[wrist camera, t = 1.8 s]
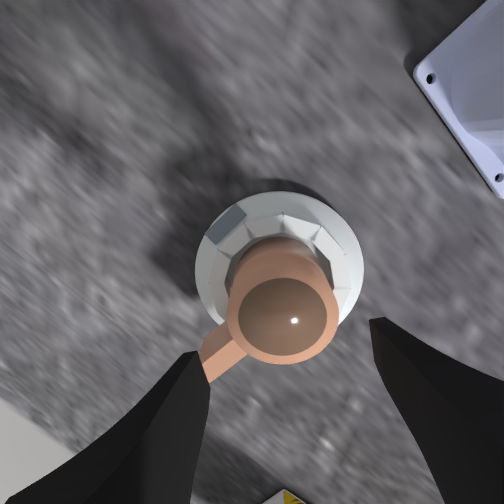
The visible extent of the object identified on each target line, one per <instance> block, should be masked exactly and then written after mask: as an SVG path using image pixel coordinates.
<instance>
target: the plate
mask: <svg viewBox="0 0 504 504" xmlns="http://www.w3.org/2000/svg"><path fill="white" fill-rule="evenodd" d="M204 234H205V235H204V237H203V239H202V241H201V243H200V246H199V249H198V252H197V257H196V262H195V279H196V286H197V290H198V294H199V296H200V298H201V301H202V303H203V305H204V307H205V308H206V310H207V312H208V313H209V314H210V316H211V317H212V318H213V319H214V320H215V321H216V322H217V323H218V324H219V325H221V324H222V323H223V322H224V321H226V320H227V318H226V314H227V306H228V302H229V298H230V294H231V289H232V285H233V281H234V277H235V272H236V268H237V265H238V262H239V260H240V258H241V256H242V255H243V253H244V252H245V251H246V250H247V249H248V248H249V247H250V246H251V245H253V244H254V243H256V242H258V241H260V240H262V239H265V238H269V237H277V236H282V237H289V238H293V239H295V240H298V241H300V242H302V243H303V244H305V245H306V246H307V247H309V248H310V249H311V250H312V252H313V253H314V254H315V256H316V257H317V259H318V261H319V263H320V266H321V268H322V270H323V272H324V274H325V276H326V278H327V281H328V283H329V285H330V287H331V289H332V291H333V293H334V296H335V298H336V300H337V304H338V308H339V322H338V325H339V324H340V323H341V322H342V321H343V320H344V319H345V318H346V316H347V315H348V314H349V312H350V311H351V310H352V308H353V306H354V304H355V302H356V301H357V298H358V296H359V293H360V291H361V286H362V282H363V273H364V267H363V257H362V252H361V249H360V246H359V243H358V240H357V238H356V237H355V235H354V233H353V231H352V229H351V228H350V227H349V225H348V224H347V223H346V221H344V220H343V219H342V218H341V217H340V216H339V215H338V214H337V213H336V212H335V211H334V210H333V209H331V208H330V207H329V206H327V205H326V204H324V203H323V202H321V201H319V200H317V199H315V198H312V197H310V196H307V195H304V194H300V193H296V192H288V191H270V192H264V193H259V194H256V195H252V196H249V197H247V198H244V199H242V200H240V201H238V202H236V203H235V204H233V205H232V206H230V207H229V208H227V209H226V210H225V211H224V212H223V213H221V214H220V215H219V216H218V218H217V219H216V220H215V221H214V222H213V223H212V225H211V226H210V228H209V229H208V230H207V231H206V232H205V233H204Z"/></svg>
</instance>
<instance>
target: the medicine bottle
mask: <svg viewBox="0 0 504 504" xmlns="http://www.w3.org/2000/svg"><path fill="white" fill-rule="evenodd" d="M262 504H306V503H305V502H303V501H302V500H301V499H299V498H298V497H296V496H295V495H293V494H292V493H290V492H289V491H287V490H286V489H283V490H281V491H280V492H278V493H277V494H275V495H274V496H272V497H271V498H270V499H268V500H267V501H265V502H264V503H262Z"/></svg>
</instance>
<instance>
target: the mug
mask: <svg viewBox="0 0 504 504" xmlns="http://www.w3.org/2000/svg"><path fill="white" fill-rule="evenodd" d="M226 318H227V320H226V321H224V322H223V323H222V324H221V325H219V326H218V327H217V328H216V329H215V330H213V331H212V332H211V333H210V334H209V335H207V336H206V337H205V338H204V341H203V344H202V347H201V350H200V353H199V357H200V360H201V363H202V366H203V368H204V371H205V374H206V377H207V380H208V382H209V383H210V382H212V381H213V380H214V379H216V378H217V377H218V376H220V375H221V374H222V373H223V372H225V371H226V370H227V369H229V368H230V367H231V366H233V365H234V364H235V363H236V362H238V361H239V360H240V359H242V358H243V357H244V356H246V355H247V354H249V355H250V356H252V357H254V358H256V359H258V360H261V361H264V362H267V363H272V364H293V363H297V362H301V361H304V360H307V359H309V358H311V357H313V356H315V355H316V354H318V353H319V352H320V351H322V350H323V349H324V348H325V347H326V346H327V345H328V344H329V342H330V341H331V340H332V338H333V336H334V334H335V332H336V329H337V327H338V322H339V308H338V304H337V300H336V298H335V296H334V293H333V291H332V289H331V287H330V285H329V283H328V281H327V278H326V276H325V274H324V272H323V270H322V268H321V266H320V263H319V261H318V259H317V257H316V256H315V254H314V253H313V252H312V250H311V249H310V248H309V247H307V246H306V245H305V244H303V243H302V242H300V241H298V240H295V239H293V238H289V237H282V236H277V237H269V238H265V239H262V240H260V241H258V242H256V243H254V244H253V245H251V246H250V247H249V248H248V249H247V250H246V251H245V252H244V253H243V255H242V256H241V258H240V260H239V262H238V265H237V268H236V272H235V277H234V281H233V285H232V289H231V294H230V298H229V302H228V306H227V314H226Z"/></svg>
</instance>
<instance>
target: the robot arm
mask: <svg viewBox="0 0 504 504" xmlns="http://www.w3.org/2000/svg"><path fill="white" fill-rule="evenodd" d="M428 75H431V76H432V78H433V80H432V83H431V84H428V83H427V81H426V77H427V76H428ZM413 77H414V79H415V81H416V82H417V84H418V85H419V87H420V88H421V90H422V91H423V92H424V94H425V95H426V97H427V98H428V99H429V101H430V102H431V104H432V105H433V107H434V108H435V109H436V111H437V112H438V114H439V115H440V117H441V118H442V119H443V121H444V122H445V124H446V125H447V127H448V128H449V129H450V131H451V132H452V134H453V135H454V136H455V138H456V139H457V141H458V142H459V144H460V145H461V146H462V148H463V149H464V151H465V152H466V154H467V155H468V156H469V158H470V159H471V161H472V162H473V164H474V165H475V166H476V168H477V169H478V171H479V172H480V174H481V175H482V176H483V178H484V179H485V181H486V182H487V183H488V185H489V186H490V188H491V189H492V191H493V192H494V193H495V195H496V196H497V197H498V198H503V199H504V0H487V1H485V2H484V3H483V4H482V5H481V6H480V7H479V8H478V9H477V10H476V11H475V12H474V13H473V14H471V15H470V16H469V17H468V18H467V19H466V20H465V21H464V22H463V23H462V24H461V25H460V26H458V27H457V28H456V29H455V30H454V31H453V32H452V33H451V34H450V35H449V36H448V37H447V38H445V39H444V40H443V41H442V42H441V43H440V44H439V45H438V46H437V47H436V48H435V49H434V50H433V51H431V52H430V53H429V54H428V55H427V56H426V57H425V58H424V59H423V60H422V61H421V62H420V63H418V64H417V66H416V67H415V68H414V71H413ZM497 174H499V179H498V180H497V181H495V176H496V175H497ZM369 324H370V332H371V339H372V347H373V354H374V362H375V364H376V366H377V369H378V371H379V374H380V376H381V378H382V381H383V383H384V385H385V387H386V389H387V391H388V392H389V394H390V396H391V398H392V400H393V401H394V403H395V405H396V407H397V408H398V410H399V412H400V414H401V415H402V417H403V419H404V421H405V422H406V424H407V426H408V428H409V429H410V431H411V433H412V435H413V436H414V438H415V440H416V442H417V444H418V446H419V448H420V450H421V452H422V454H423V456H424V458H425V460H426V462H427V465H428V467H429V469H430V471H431V473H432V475H433V478H434V480H435V482H436V484H437V487H438V489H439V491H440V493H441V496H442V498H443V500H444V502H445V504H504V381H502V380H499V379H497V378H494V377H492V376H489V375H487V374H485V373H482V372H480V371H478V370H476V369H474V368H471V367H469V366H467V365H465V364H463V363H461V362H459V361H457V360H455V359H453V358H451V357H449V356H447V355H445V354H443V353H441V352H440V351H438V350H436V349H434V348H433V347H431V346H429V345H427V344H426V343H424V342H422V341H421V340H419V339H418V338H416V337H414V336H413V335H411V334H410V333H408V332H407V331H405V330H404V329H402V328H401V327H399V326H398V325H396V324H395V323H393V322H392V321H390V320H389V319H387V318H386V317H381V318H375V319H370V320H369ZM210 389H211V388H210V385H209V383H208V380H207V377H206V374H205V371H204V368H203V366H202V363H201V360H200V357H199V354H198V352H197V351H192V352H187V353H183V354H182V355H181V356H180V357H179V358H178V359H177V361H176V362H175V363H174V364H173V365H172V366H171V367H170V369H169V370H168V371H167V372H166V373H165V374H164V375H163V376H162V378H161V379H160V380H159V381H158V382H157V383H156V384H155V385H154V386H153V388H152V389H151V390H150V391H149V392H148V393H147V394H146V395H145V396H144V397H143V398H142V399H141V400H140V401H139V402H138V403H137V404H136V405H135V406H134V407H133V408H132V409H131V410H130V411H129V412H128V413H127V414H126V415H125V416H124V417H123V418H122V419H120V420H119V421H118V422H117V423H116V424H115V425H114V426H113V427H111V428H110V429H109V430H108V431H107V432H105V433H104V434H103V435H102V436H100V437H99V438H98V439H96V440H95V441H94V442H93V443H91V444H90V445H89V446H88V447H86V448H85V449H84V450H82V451H81V452H80V453H78V454H77V455H75V456H74V457H73V458H71V459H70V460H68V461H67V462H66V463H64V464H63V465H61V466H60V467H58V468H57V469H55V470H54V471H52V472H51V473H49V474H48V475H46V476H44V477H43V478H41V479H40V480H38V481H36V482H35V483H33V484H31V485H30V486H28V487H26V488H25V489H23V490H22V491H20V492H18V493H16V494H15V495H13V496H11V497H9V498H8V500H7V501H6V503H5V504H190V499H191V491H192V484H193V478H194V473H195V468H196V464H197V459H198V455H199V451H200V446H201V442H202V438H203V433H204V429H205V425H206V420H207V415H208V409H209V400H210Z"/></svg>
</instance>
